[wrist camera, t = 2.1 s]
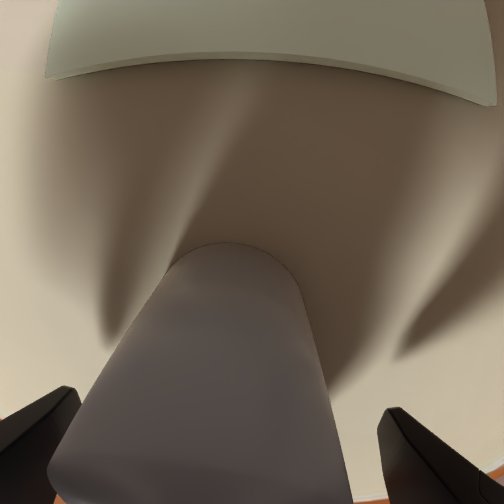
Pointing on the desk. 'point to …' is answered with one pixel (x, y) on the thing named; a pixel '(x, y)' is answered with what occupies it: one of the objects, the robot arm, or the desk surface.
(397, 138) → the desk surface
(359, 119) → the desk surface
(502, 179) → the desk surface
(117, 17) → the sage pad
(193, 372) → the rounded connector
